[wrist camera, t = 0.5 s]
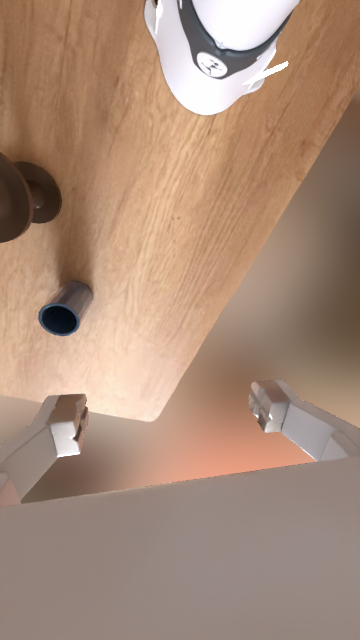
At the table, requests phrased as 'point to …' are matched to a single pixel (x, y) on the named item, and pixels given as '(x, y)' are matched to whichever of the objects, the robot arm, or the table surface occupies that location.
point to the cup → (66, 309)
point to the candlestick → (25, 197)
